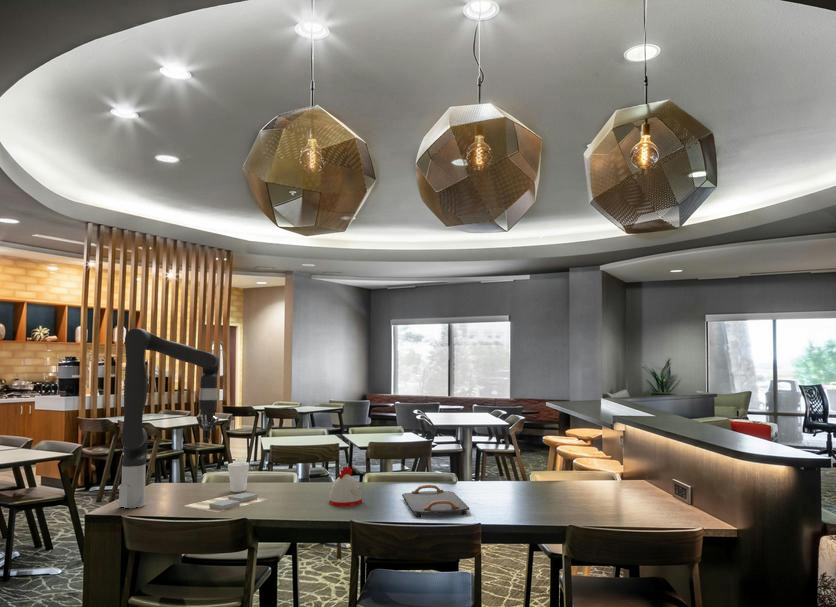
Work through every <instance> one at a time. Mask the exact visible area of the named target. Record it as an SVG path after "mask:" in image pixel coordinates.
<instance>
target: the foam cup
mask: <svg viewBox="0 0 836 607" xmlns="http://www.w3.org/2000/svg"><path fill="white" fill-rule="evenodd" d="M249 469H250V462H247V461H246V462H244V461H239V462H230V463H228V464H227V470H228V478H229V485H230V486H229V487H230V491H231V492H234V493H236V492H237V493H238V492H239V493H240V492H241V493H242V492H244V491H246V490H247V485H248V484H247V482H248V475H249Z"/></svg>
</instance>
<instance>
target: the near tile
mask: <svg viewBox="0 0 836 607" xmlns="http://www.w3.org/2000/svg"><path fill="white" fill-rule="evenodd" d="M239 505H240V501H235V500H229V499H226V500H222V501H217V502H213V503H209V507H210V508H212V509H218V510H225V511H227V510H226V509H229V510H231V509H230V508H233V507H237V506H239ZM237 508H238V507H237ZM233 509H234V508H233Z"/></svg>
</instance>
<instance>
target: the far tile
mask: <svg viewBox="0 0 836 607" xmlns="http://www.w3.org/2000/svg"><path fill="white" fill-rule="evenodd" d="M235 494H236V493H235ZM231 495H232V494H231ZM227 496H228V495H227ZM257 498H258V494H257V493H251V492H250V493H249V492H241V493H237V494H236V495H232V496H228V499H229V500H235V501H240V503H243V502H247V501H251V500H255V499H257Z"/></svg>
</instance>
